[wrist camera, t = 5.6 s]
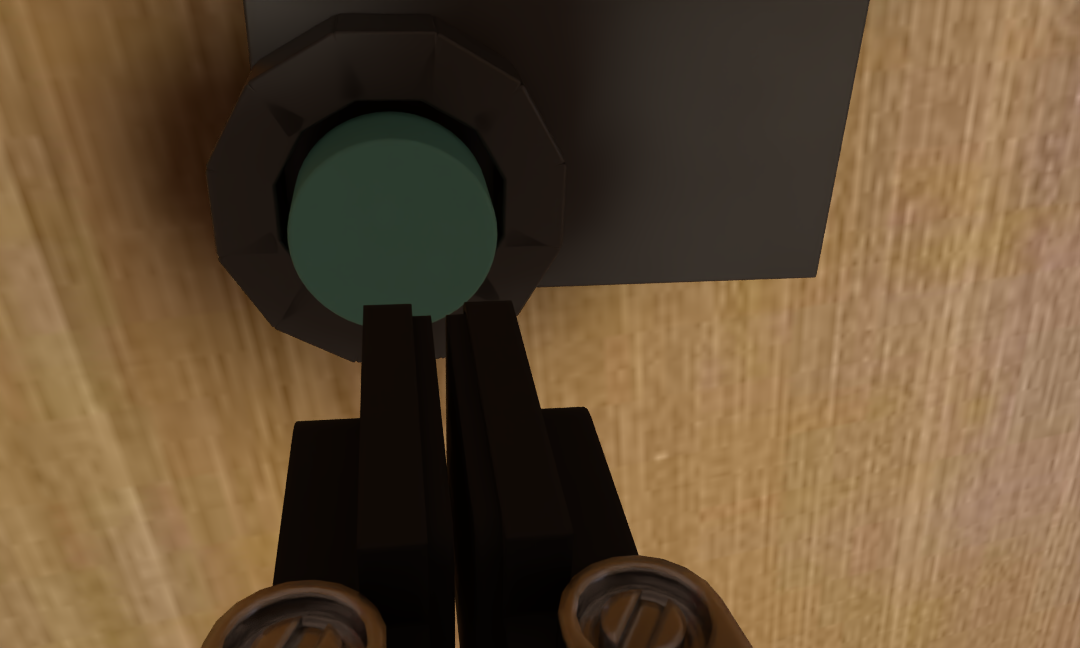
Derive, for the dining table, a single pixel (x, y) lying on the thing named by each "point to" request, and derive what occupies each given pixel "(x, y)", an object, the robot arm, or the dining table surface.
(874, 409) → the dining table surface
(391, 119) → the button
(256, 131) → the scale
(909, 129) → the dining table surface
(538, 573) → the robot arm
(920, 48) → the dining table surface
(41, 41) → the dining table surface
